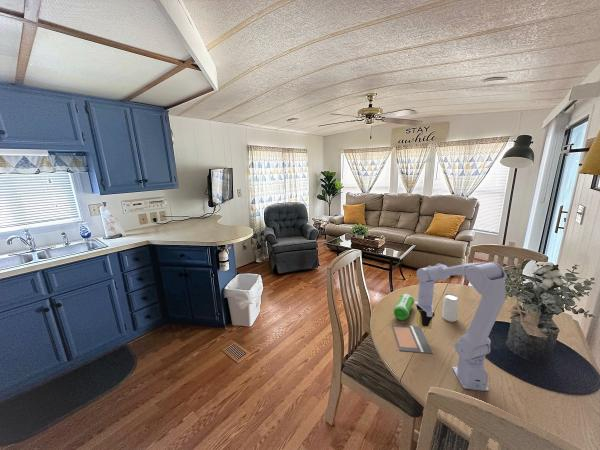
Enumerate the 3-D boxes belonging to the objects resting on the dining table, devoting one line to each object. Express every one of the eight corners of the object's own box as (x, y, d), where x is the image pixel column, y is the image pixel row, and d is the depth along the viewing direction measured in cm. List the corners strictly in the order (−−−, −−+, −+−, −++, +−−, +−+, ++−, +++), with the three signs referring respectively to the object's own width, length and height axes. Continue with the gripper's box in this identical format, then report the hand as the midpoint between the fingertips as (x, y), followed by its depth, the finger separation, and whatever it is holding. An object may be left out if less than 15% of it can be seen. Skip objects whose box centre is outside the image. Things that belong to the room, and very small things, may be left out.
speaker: (407, 323, 122) (408, 309, 121) (392, 318, 126) (393, 305, 125) (414, 306, 137) (415, 294, 135) (400, 303, 141) (401, 291, 139)
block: (431, 328, 106) (432, 316, 105) (418, 328, 107) (419, 315, 106) (427, 322, 111) (428, 310, 110) (415, 321, 112) (416, 309, 111)
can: (459, 322, 121) (461, 300, 118) (444, 321, 122) (446, 299, 120) (453, 315, 127) (456, 294, 125) (440, 314, 129) (442, 293, 126)
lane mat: (432, 353, 102) (432, 352, 102) (399, 350, 104) (399, 349, 104) (419, 326, 119) (419, 326, 119) (391, 324, 121) (391, 324, 121)
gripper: (411, 285, 114) (409, 312, 117) (420, 302, 100) (418, 331, 103) (427, 286, 112) (425, 313, 115) (439, 303, 98) (436, 333, 101)
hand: (423, 322), depth 109 cm, fingers closed on block, 5 cm apart
